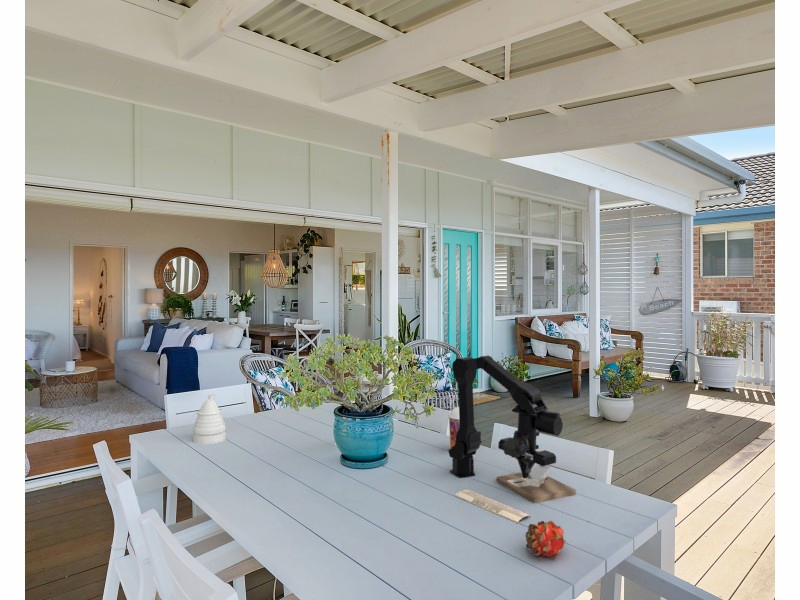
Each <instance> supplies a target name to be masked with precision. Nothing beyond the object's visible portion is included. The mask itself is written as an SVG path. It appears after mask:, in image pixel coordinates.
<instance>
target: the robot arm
mask: <svg viewBox="0 0 800 600" xmlns="http://www.w3.org/2000/svg"><path fill="white" fill-rule="evenodd" d="M451 368H452V375H453V378H454V380H455V381H456V383H457V389H458V391H457V393H458V395H457V396H458V407H459V422H460V426H459V429H458V432H457V434H456V440H455V445H454V446H453V447H452V448H450V449H449V450H448V454H449V455H448V456H449V457H450V458H452V459H451V460H452V469H450V470H449V473H451V474H453V475H454V476H455V477H457V478H459V479H460V478H466V477H473V476H476V473H475V469H474V468H475V460H474V456H473V455H476V454H477V451H478V449H480V447H481V444H482V443H483V442H482V439H481V438H482V437H481V436H482V432H481V430H480V431H478V430H477V428H476V426H475V412H474V389H473V388H474V385H473V384H474V382H475V379H476V377H477V372H478V370H480V369H482V370H483V371H484V372H485V373H486V374H487V375H489V376H490V377H492V379H494V380H495V382H497V383H499V384H500V385H501V386H502V387H503V388H504V389H506V390H507V391H508V393H509V394H510V396H511V399H512V400H513V401H514V402H515V403H516V405H515V407H514V408H512V409H511V412H513V413H516V414H517V430H515V431H514V432H513V436H512V437H505V438H501V439H499V441H498V447H497V448H498V449H499V450H502V451H503V452H504V455H505V456H507V455H508V456H510V457H511V458H514V459H515V460H517V462H518V465H519V468H520V473H522V475H523V478H524V479H525V478H526V477H527V476H528V475H529V473H530V471H532V470H533V467H534V466H535V464H536V465H541V466H546V465H549V466H550V465H553V464H556V463H557V455H556V454H555V453H554V452H552V451H548V450H546V449H545V450H539V448H540V447H539V446H540V445H538V444H537V437H538V436H540V433H542V434H547V435H549V436H550V435H551V436H555V437H559V436H560V435H561V433H562V431H563V426H564V424H563V419H562V418H561V416H560V414H561V413H560V412H557V411H549V408H548V407H547V405H546V403H545V402H544V400H543V398H542V395H541V393H542V392H541V391H540V390H539V389H538V388H537V387H535V386H533V385H531V384H530V383H527V382H525V381H523V380H520V379H518V378H517V377H516V376H515V375H513V374H512V373H511V372H510V371H508V370H507V369H506V368H504V367H503V366H502V365H501V364H499V362H497V361H496V360H494V358H493V357H492V356H490V355H482V356H479V357H474V358H473V357H471V356H467V357H466V356H465V357H461V358H459V357H458V358H456V359H455V360H454V361H453V362H452V363H451ZM538 450H539V451H538Z"/></svg>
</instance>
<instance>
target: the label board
mask: <svg viewBox="0 0 800 600" xmlns="http://www.w3.org/2000/svg"><path fill="white" fill-rule="evenodd" d="M531 471H532V470H531ZM531 471H530V473H531ZM530 473H529V474H530ZM496 482H497V483H498V484H500V485H502V486H504V487H505V488H507V489H509V490H511V491H512V492H514V493H515V494H518V495H519V496H522V497H523V498H525V499H526V500H528V501H529V502H531V503H533V504H537V503H543V502H547V501H552V500H556V499H561V498H566V497H571V496H575V495H576V494H577V489H576V488H573V487H571V486H569V485H567V484H565V483H563V482H561V481H558V480H557V479H555V478H552V477H551V476H549V475H548V476H547V477H546V479H545V480H544V481H543V482H542V484H541V485H540V486H539V487H535V486H530V485H525V484H526V478H525V479H524V478H523V475H522V472H518V473H517V472H516V473H511V474H505V475H500V476H496Z"/></svg>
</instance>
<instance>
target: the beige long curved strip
mask: <svg viewBox="0 0 800 600" xmlns="http://www.w3.org/2000/svg"><path fill="white" fill-rule="evenodd" d="M454 496H455V497H456V498H459V499H461V500H463V501H466V502H468V503H470V504H471V505H475V506H477V507H479V508H482V509H484V510H486V511H488V512H491V513H493V514H496V515H497V516H500V517H503V518H505V519H507V520H509V521H512V522H514V523H516V524H519V522H520V520H522V519H523V518H525V517H527V518H532V515H531V514H528V513H526V512H523V511H521V510H518V509H516V508H514V507H511V506H508V505H507V504H504V503H501V502H499V501H497V500H494V499H492V498H489V497H487V496H484V495H482V494H479V493H477V492H475V491H473V490H471V489H462V490H460V491H458V492H457V493H456V494H455V495H454Z"/></svg>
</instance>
